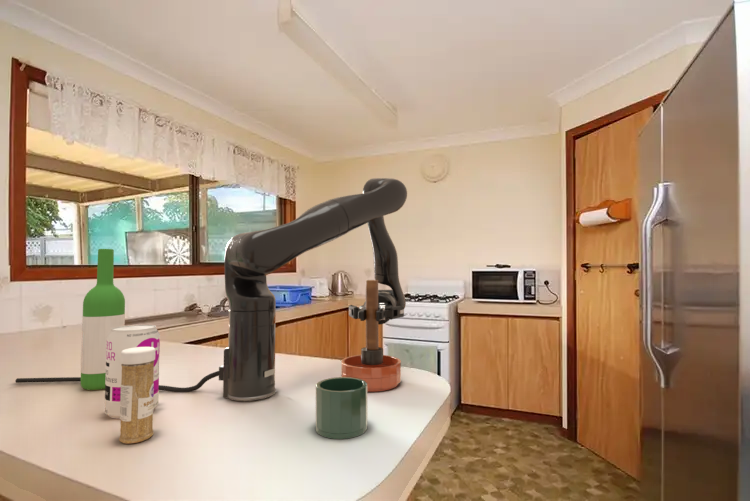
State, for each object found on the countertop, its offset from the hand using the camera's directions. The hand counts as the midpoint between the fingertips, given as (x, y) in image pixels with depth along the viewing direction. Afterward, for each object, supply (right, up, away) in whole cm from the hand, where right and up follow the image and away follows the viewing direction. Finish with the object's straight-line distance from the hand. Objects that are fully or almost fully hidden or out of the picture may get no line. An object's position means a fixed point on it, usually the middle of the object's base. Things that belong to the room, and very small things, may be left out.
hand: (370, 316), depth 84 cm
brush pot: (-4, -15, -20) cm, 25 cm away
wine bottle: (-59, -16, +3) cm, 61 cm away
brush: (0, -11, +2) cm, 11 cm away
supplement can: (-43, -15, -13) cm, 47 cm away
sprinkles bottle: (-35, -15, -24) cm, 45 cm away
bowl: (0, -16, +4) cm, 16 cm away
